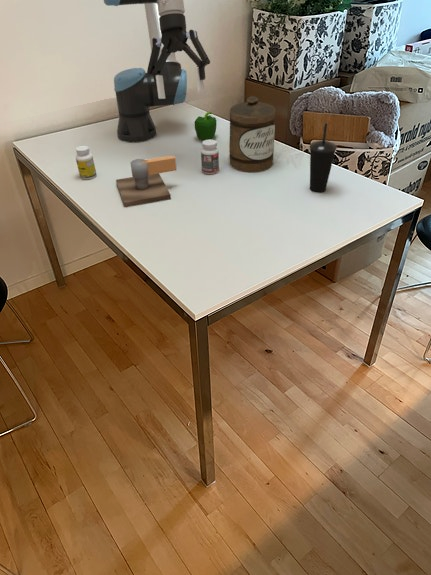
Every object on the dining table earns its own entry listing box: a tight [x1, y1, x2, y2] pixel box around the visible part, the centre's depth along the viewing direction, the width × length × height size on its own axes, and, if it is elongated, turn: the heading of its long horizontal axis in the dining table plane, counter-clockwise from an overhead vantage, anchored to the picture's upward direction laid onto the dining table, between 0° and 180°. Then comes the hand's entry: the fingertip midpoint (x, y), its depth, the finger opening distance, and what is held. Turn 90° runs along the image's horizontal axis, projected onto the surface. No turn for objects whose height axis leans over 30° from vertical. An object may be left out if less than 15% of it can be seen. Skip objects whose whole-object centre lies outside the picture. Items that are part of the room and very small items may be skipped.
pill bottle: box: [200, 139, 220, 175], centre depth 148 cm, size 6×6×10 cm
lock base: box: [115, 173, 172, 208], centre depth 140 cm, size 16×14×5 cm
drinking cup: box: [309, 123, 338, 194], centre depth 133 cm, size 8×8×20 cm
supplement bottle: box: [75, 145, 97, 180], centre depth 148 cm, size 5×5×10 cm
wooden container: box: [228, 95, 277, 173], centre depth 148 cm, size 15×15×22 cm
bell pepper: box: [194, 110, 217, 142], centre depth 170 cm, size 8×8×10 cm
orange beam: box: [129, 155, 177, 179], centre depth 138 cm, size 14×5×4 cm, turn 108°
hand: (181, 95), depth 136 cm, fingers open, 13 cm apart
